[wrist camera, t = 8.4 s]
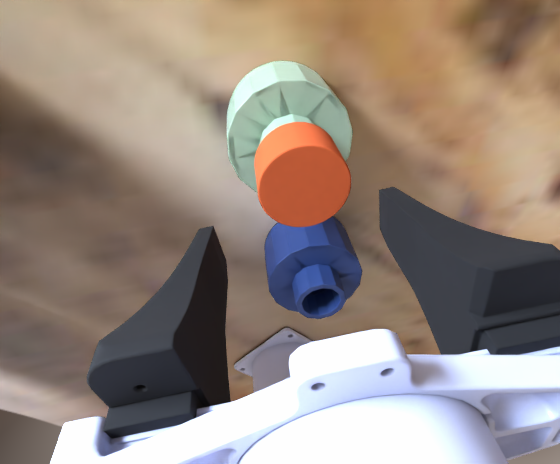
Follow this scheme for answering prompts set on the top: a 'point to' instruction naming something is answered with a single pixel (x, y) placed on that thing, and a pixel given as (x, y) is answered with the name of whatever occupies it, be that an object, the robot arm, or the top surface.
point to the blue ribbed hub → (311, 267)
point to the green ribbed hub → (281, 111)
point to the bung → (301, 175)
